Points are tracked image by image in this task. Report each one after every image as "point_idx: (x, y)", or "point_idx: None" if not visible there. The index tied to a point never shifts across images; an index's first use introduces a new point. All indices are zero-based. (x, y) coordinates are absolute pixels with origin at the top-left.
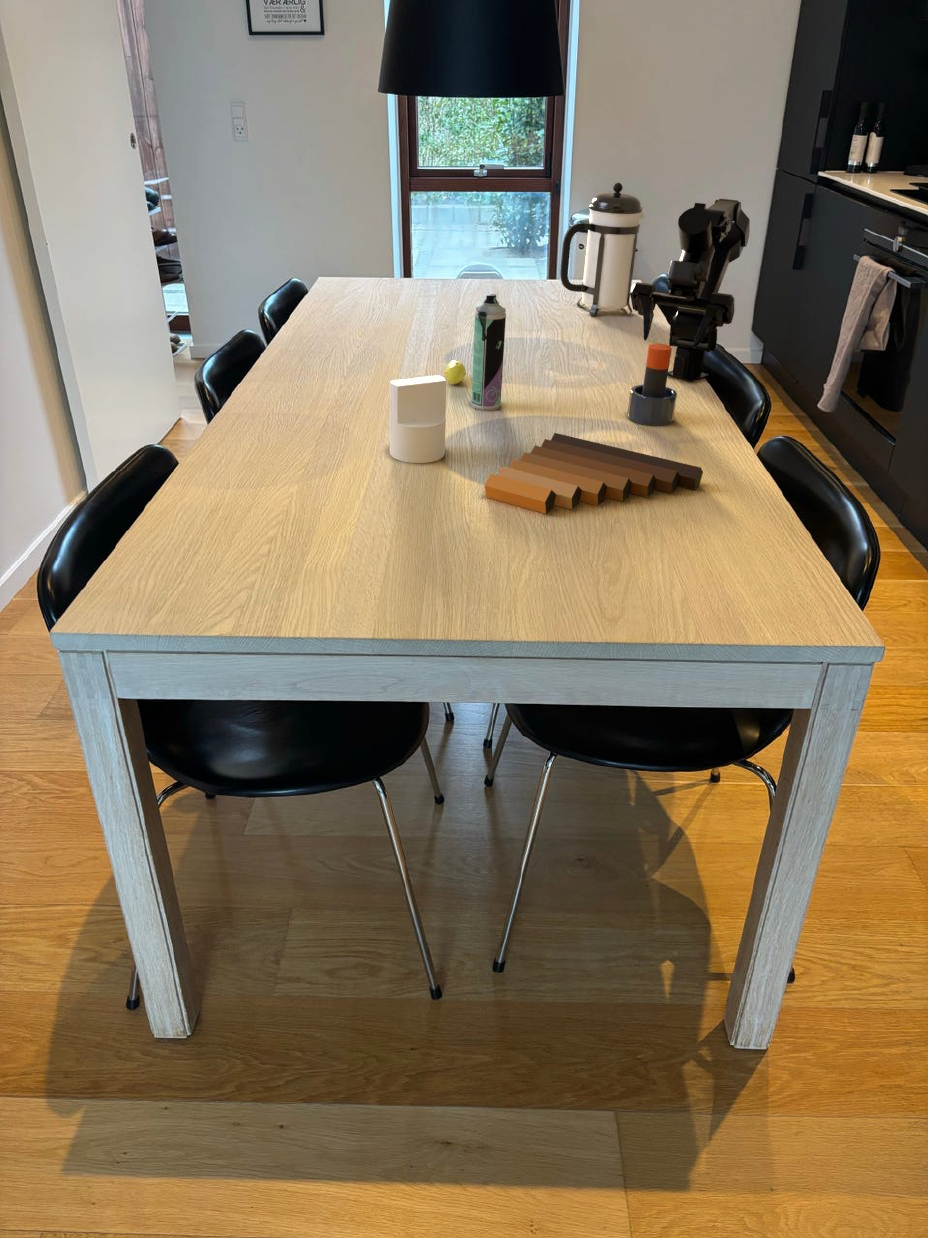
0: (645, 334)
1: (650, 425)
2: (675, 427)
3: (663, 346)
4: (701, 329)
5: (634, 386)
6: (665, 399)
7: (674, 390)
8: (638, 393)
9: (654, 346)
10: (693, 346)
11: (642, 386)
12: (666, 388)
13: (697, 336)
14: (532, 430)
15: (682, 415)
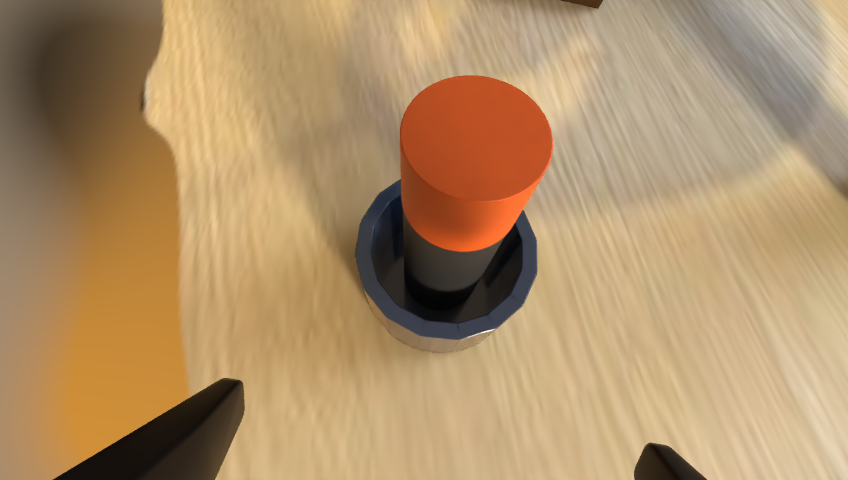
0: (671, 462)
1: None
2: (354, 226)
3: (457, 143)
4: (91, 478)
5: (531, 278)
6: (394, 184)
7: (367, 292)
8: (506, 294)
9: (511, 125)
10: (242, 389)
11: (502, 301)
12: (402, 308)
13: (177, 420)
14: (694, 88)
15: (334, 349)
